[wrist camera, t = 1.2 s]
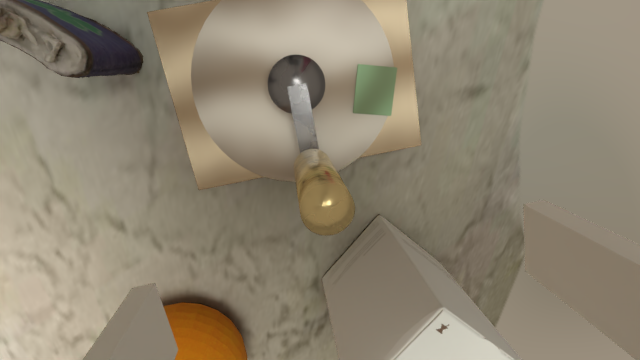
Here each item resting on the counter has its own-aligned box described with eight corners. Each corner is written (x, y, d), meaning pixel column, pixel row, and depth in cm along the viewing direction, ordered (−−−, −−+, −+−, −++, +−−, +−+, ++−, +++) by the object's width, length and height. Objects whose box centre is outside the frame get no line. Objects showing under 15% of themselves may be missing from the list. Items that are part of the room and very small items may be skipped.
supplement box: (317, 278, 37) (342, 408, 23) (378, 211, 36) (444, 304, 21) (383, 325, 39) (443, 468, 25) (442, 263, 38) (541, 378, 24)
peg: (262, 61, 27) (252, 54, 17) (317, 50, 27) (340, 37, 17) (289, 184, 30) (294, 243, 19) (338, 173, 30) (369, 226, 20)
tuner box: (160, 6, 29) (141, -5, 25) (385, -34, 30) (402, -51, 26) (210, 187, 33) (201, 202, 29) (406, 147, 34) (423, 157, 30)
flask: (17, 25, 28) (-130, -2, 18) (28, -13, 28) (-116, -62, 18) (137, 82, 31) (67, 87, 20) (150, 48, 30) (84, 35, 20)
